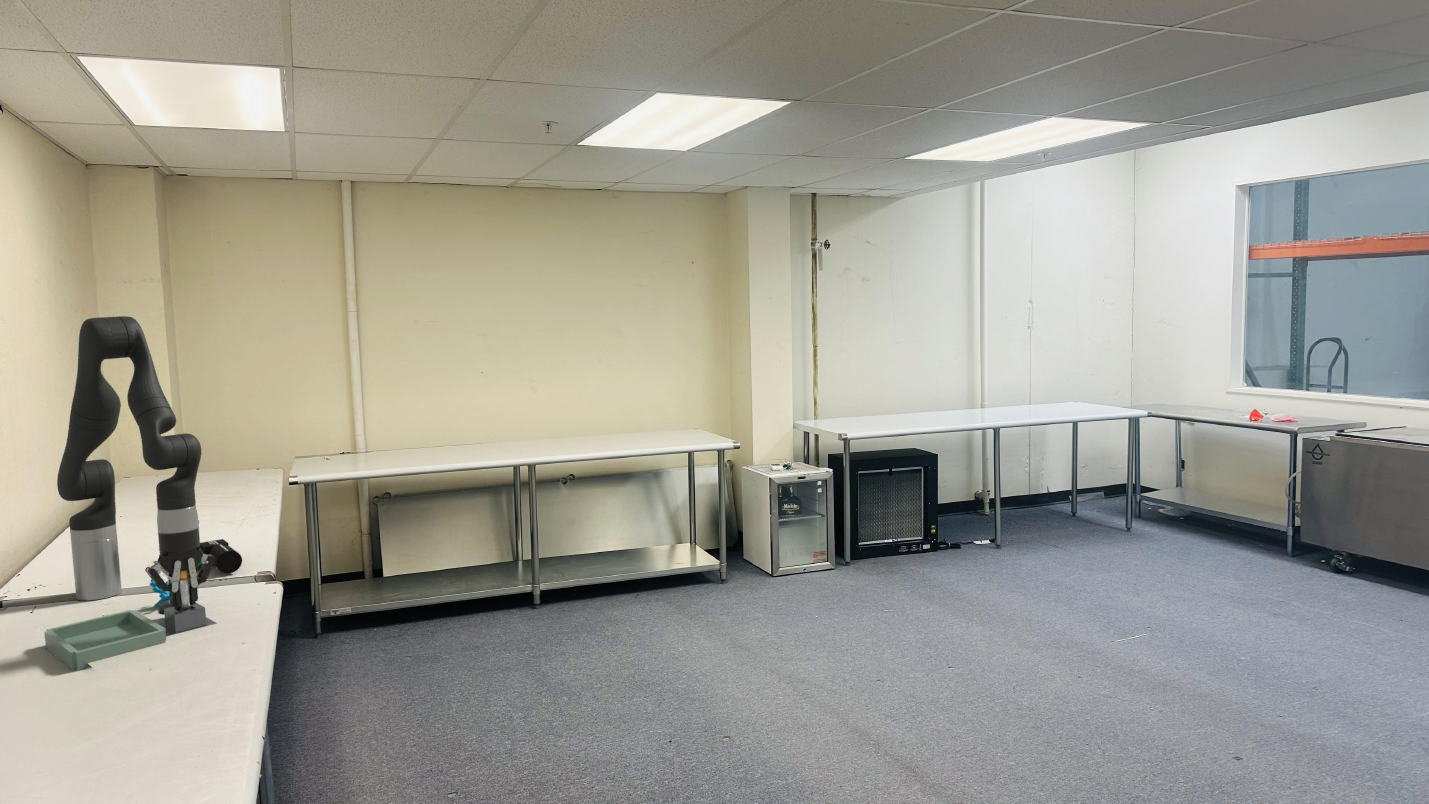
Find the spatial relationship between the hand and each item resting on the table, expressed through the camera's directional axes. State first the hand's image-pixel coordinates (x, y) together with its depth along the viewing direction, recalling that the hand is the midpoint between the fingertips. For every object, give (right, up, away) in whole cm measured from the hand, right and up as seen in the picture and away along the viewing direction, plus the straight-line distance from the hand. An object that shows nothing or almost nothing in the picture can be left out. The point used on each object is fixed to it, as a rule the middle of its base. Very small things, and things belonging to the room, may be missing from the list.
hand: (184, 605), depth 191 cm
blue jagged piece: (-12, -4, +16) cm, 20 cm away
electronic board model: (-25, -1, +49) cm, 55 cm away
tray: (-11, -7, -8) cm, 15 cm away
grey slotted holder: (-2, -5, +2) cm, 6 cm away
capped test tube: (0, -5, 0) cm, 5 cm away
